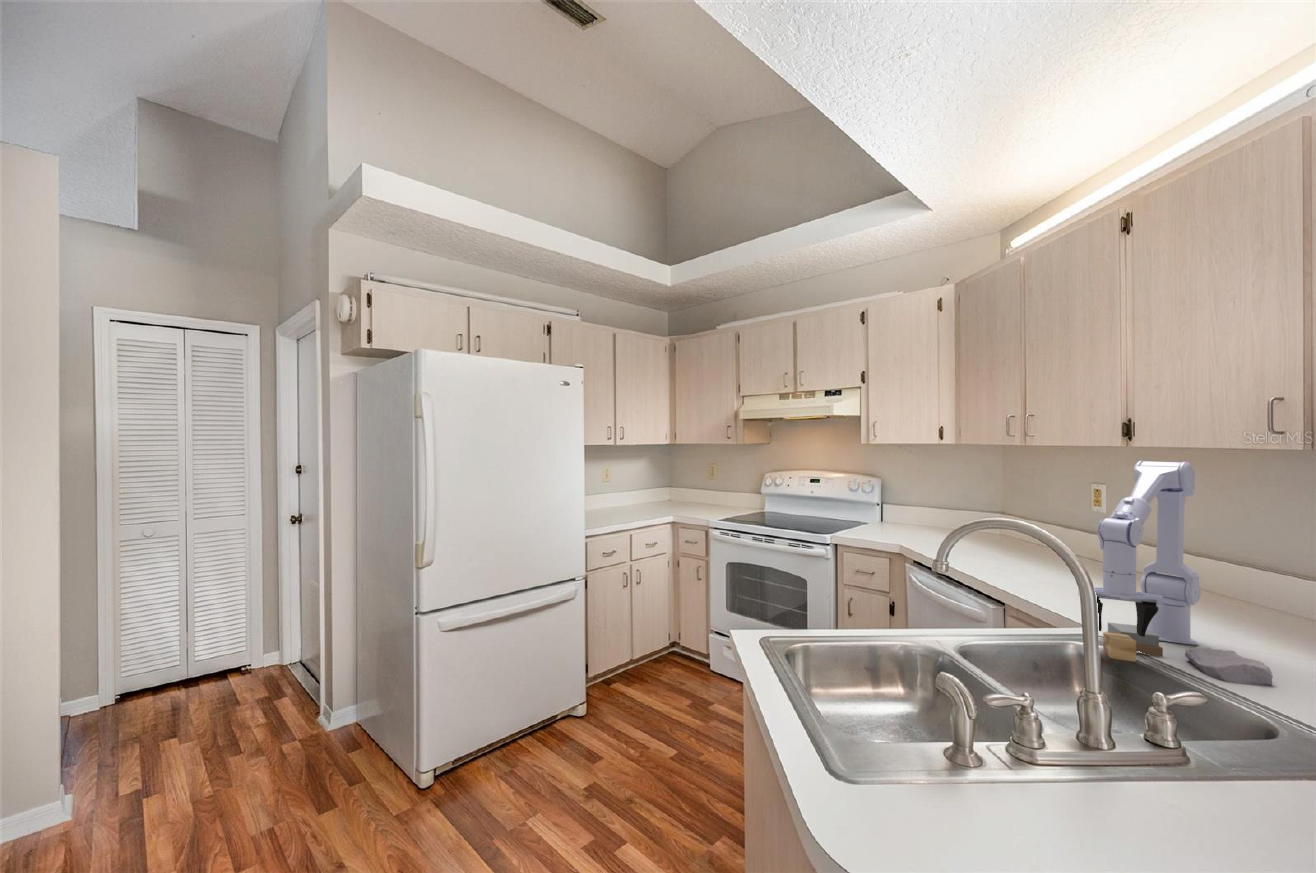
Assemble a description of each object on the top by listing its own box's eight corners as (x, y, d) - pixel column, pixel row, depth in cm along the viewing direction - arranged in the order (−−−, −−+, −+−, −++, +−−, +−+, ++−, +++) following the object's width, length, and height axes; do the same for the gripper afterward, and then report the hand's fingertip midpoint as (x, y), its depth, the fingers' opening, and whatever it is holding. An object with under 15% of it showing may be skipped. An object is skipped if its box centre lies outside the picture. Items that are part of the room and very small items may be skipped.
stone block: (1223, 692, 108) (1281, 686, 106) (1216, 667, 108) (1274, 662, 106) (1178, 669, 119) (1229, 664, 118) (1172, 648, 120) (1223, 642, 118)
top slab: (1107, 632, 130) (1107, 622, 130) (1143, 636, 128) (1143, 626, 128) (1120, 642, 124) (1120, 631, 124) (1159, 647, 121) (1159, 635, 121)
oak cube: (1103, 651, 124) (1103, 631, 124) (1127, 654, 122) (1128, 635, 122) (1110, 658, 119) (1110, 638, 120) (1136, 662, 118) (1136, 641, 118)
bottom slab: (1105, 641, 131) (1105, 631, 131) (1147, 647, 128) (1147, 636, 128) (1118, 653, 124) (1118, 642, 124) (1162, 659, 121) (1162, 648, 121)
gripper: (1085, 572, 120) (1085, 632, 120) (1169, 579, 114) (1169, 643, 114) (1075, 565, 127) (1075, 623, 126) (1154, 572, 121) (1154, 633, 120)
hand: (1119, 632), depth 121 cm, fingers open, 7 cm apart
